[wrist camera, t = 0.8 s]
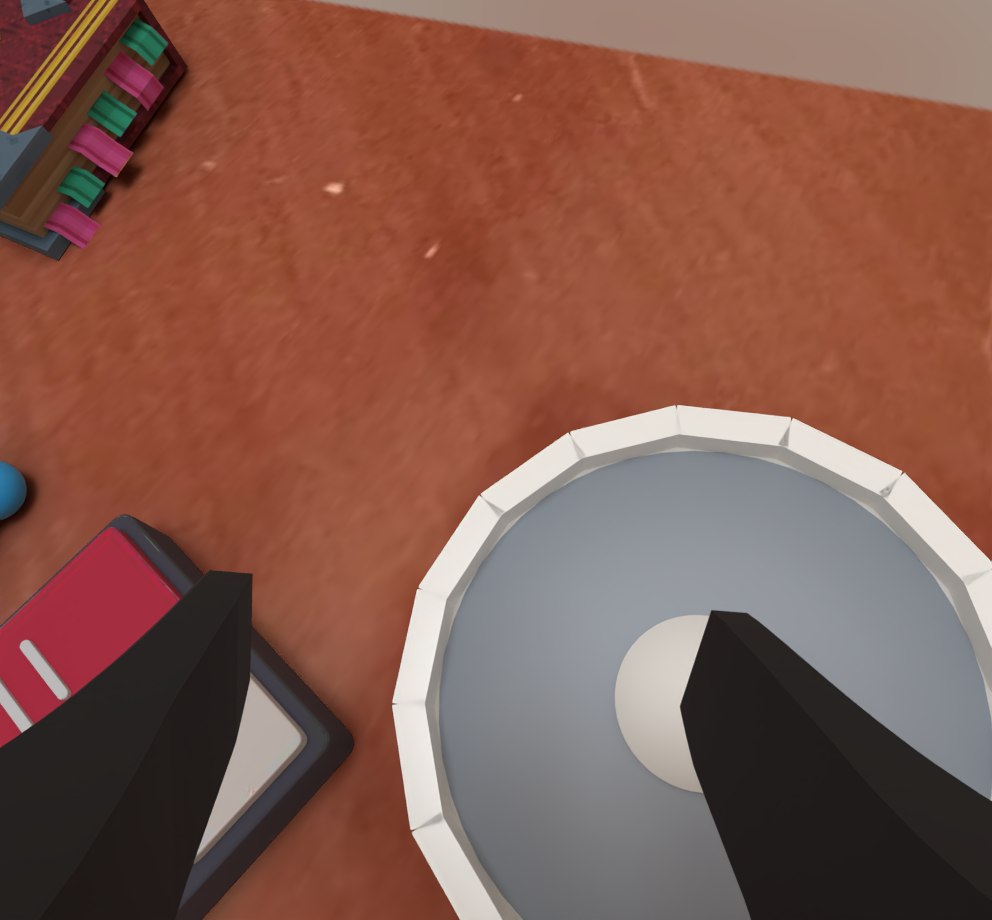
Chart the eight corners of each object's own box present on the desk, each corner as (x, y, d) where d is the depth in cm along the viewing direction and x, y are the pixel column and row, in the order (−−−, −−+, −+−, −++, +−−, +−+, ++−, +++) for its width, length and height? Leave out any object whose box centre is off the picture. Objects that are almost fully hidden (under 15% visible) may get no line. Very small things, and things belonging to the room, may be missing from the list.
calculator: (326, 737, 23) (-107, 1207, 20) (368, 744, 27) (11, 1136, 24) (110, 499, 26) (-282, 866, 24) (175, 536, 30) (-154, 853, 28)
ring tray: (1174, 791, 22) (1219, 795, 20) (642, 1208, 21) (644, 1248, 19) (737, 334, 28) (744, 308, 27) (315, 631, 27) (294, 624, 26)
